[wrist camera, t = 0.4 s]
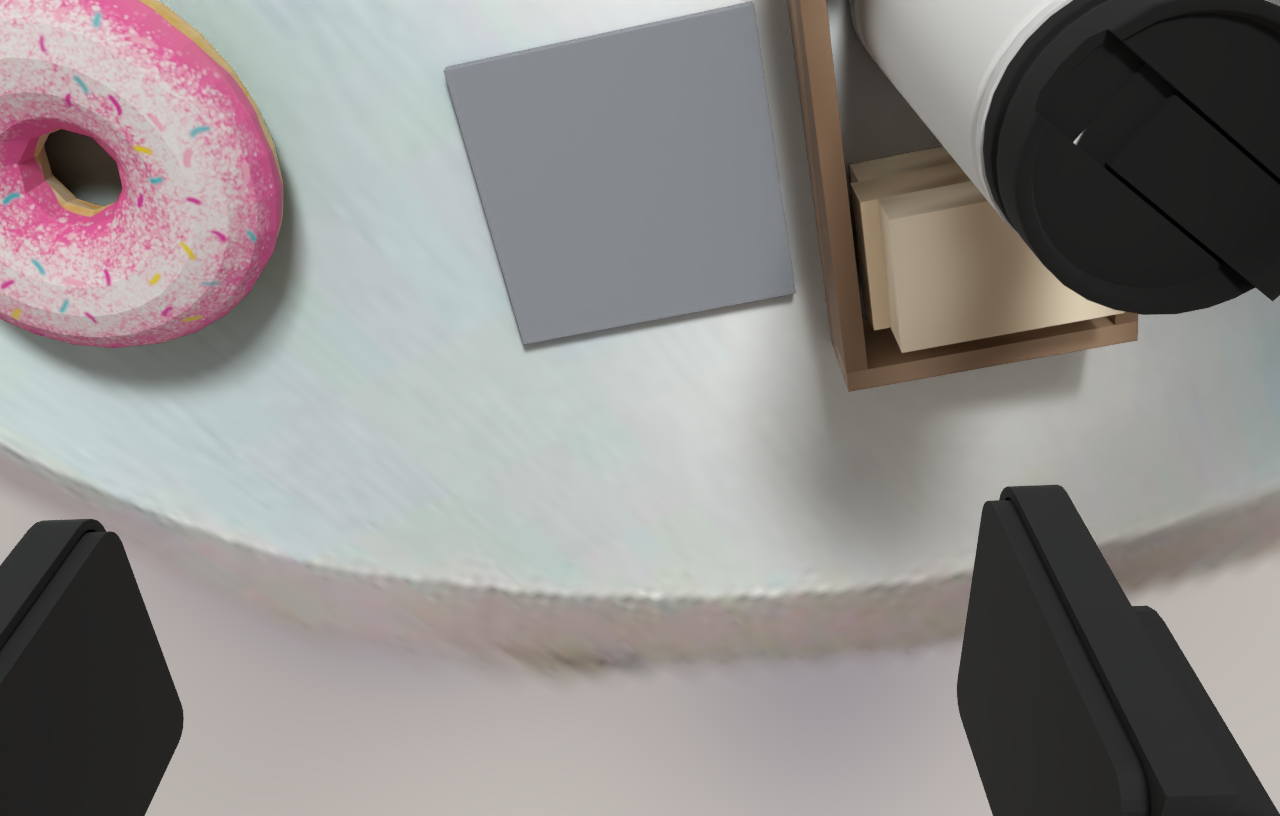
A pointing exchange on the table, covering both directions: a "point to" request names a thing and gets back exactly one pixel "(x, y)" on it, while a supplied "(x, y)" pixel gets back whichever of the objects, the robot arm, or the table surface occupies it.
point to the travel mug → (1107, 133)
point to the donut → (128, 175)
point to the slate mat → (628, 173)
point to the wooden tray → (854, 340)
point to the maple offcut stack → (948, 258)
